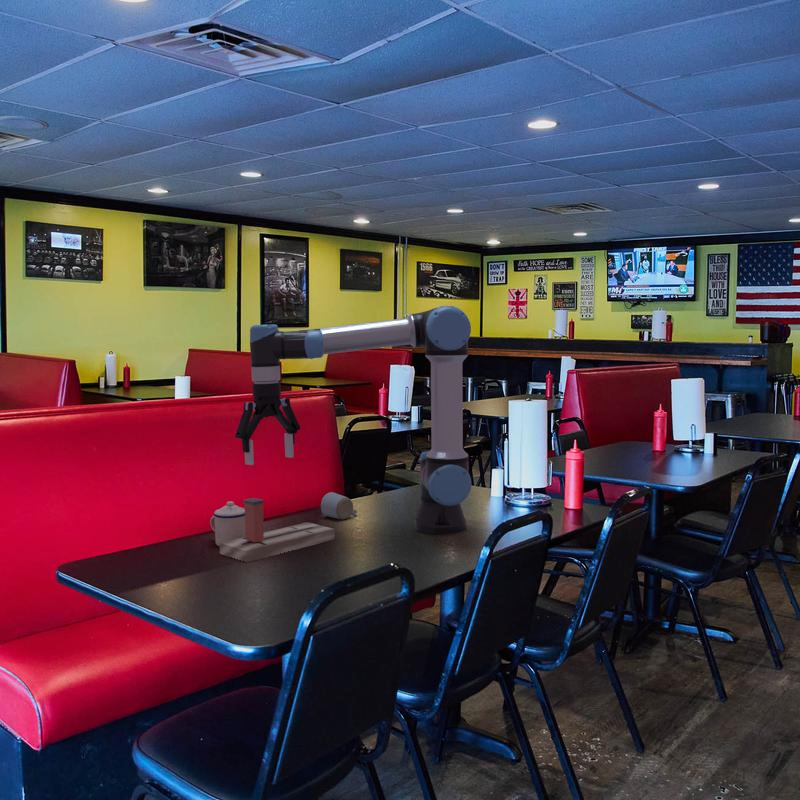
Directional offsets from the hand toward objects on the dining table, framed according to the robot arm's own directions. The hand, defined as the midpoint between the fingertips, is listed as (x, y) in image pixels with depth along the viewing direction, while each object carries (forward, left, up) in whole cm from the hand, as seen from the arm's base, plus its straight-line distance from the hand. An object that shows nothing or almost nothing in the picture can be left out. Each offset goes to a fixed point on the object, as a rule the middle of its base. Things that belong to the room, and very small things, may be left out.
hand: (270, 460), depth 221 cm
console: (-1, -1, -24) cm, 24 cm away
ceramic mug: (+12, -36, -24) cm, 45 cm away
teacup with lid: (+13, +6, -24) cm, 28 cm away
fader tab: (-1, +7, -20) cm, 21 cm away
